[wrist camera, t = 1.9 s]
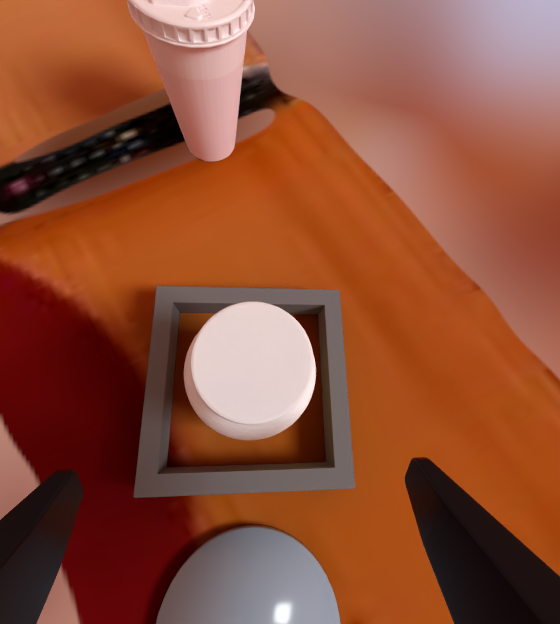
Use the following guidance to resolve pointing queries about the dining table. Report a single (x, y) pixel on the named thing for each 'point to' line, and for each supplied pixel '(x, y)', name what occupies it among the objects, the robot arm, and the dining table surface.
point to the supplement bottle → (250, 371)
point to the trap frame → (256, 477)
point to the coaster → (250, 582)
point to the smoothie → (199, 65)
